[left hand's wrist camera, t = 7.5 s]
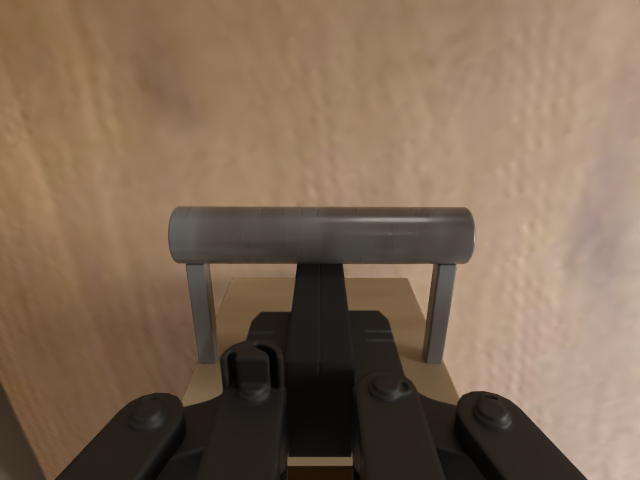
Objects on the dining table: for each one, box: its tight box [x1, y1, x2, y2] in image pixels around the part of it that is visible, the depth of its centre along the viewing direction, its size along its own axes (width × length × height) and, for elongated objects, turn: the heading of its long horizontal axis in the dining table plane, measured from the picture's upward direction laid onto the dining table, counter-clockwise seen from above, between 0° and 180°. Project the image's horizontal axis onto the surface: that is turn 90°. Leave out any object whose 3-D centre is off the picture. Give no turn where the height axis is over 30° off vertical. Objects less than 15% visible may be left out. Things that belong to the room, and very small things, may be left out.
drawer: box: [168, 207, 475, 480], centre depth 18 cm, size 23×9×10 cm, turn 0°
